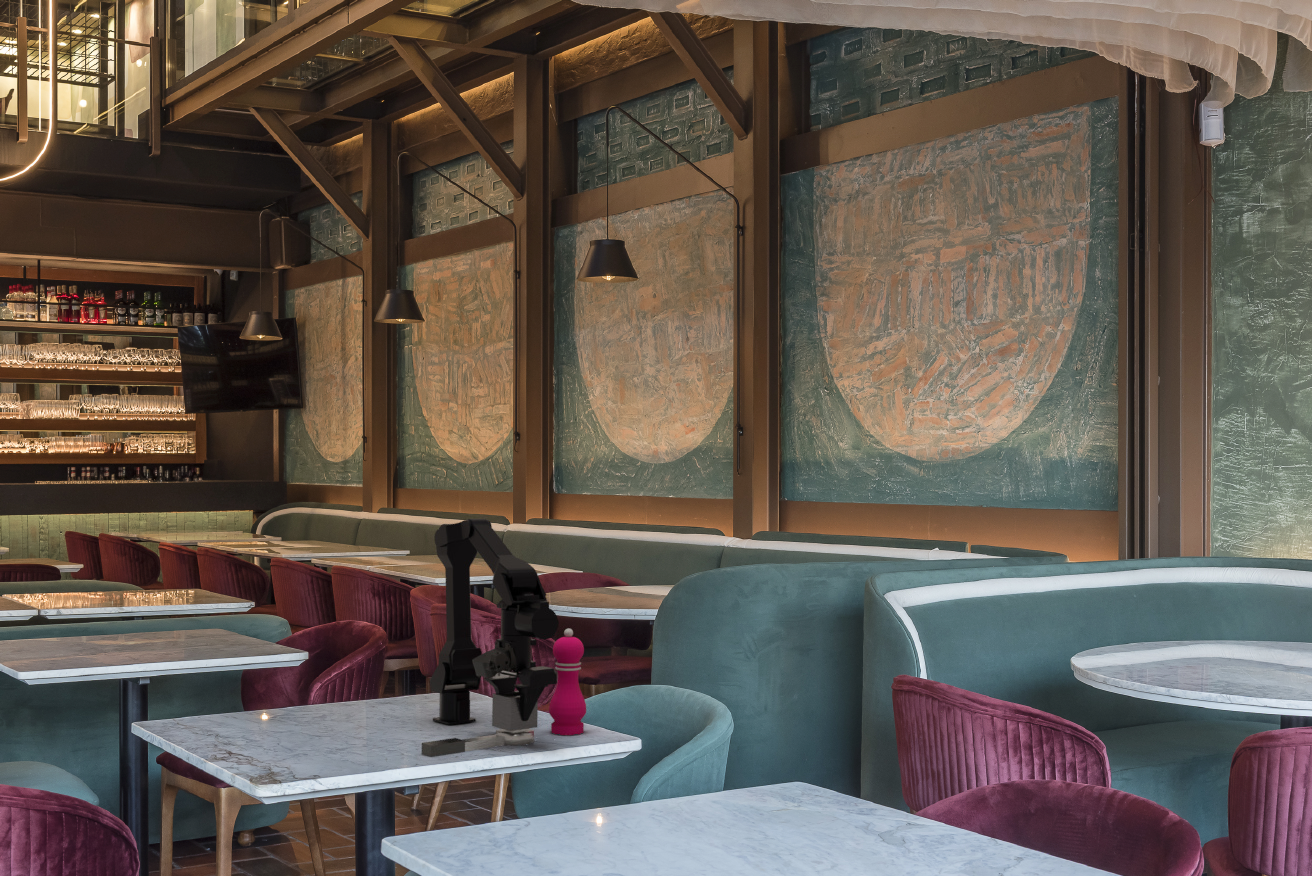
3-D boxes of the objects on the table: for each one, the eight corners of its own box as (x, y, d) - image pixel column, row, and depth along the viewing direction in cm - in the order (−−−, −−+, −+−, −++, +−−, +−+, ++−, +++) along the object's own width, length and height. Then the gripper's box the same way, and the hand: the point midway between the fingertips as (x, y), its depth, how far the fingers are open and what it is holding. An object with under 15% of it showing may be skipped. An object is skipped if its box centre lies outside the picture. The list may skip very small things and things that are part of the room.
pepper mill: (588, 729, 249) (589, 626, 250) (583, 736, 242) (584, 630, 243) (552, 728, 250) (553, 626, 251) (545, 735, 243) (546, 630, 243)
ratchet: (415, 752, 227) (416, 723, 227) (519, 736, 241) (520, 709, 242) (436, 759, 221) (437, 728, 222) (541, 742, 236) (541, 714, 236)
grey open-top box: (492, 726, 237) (492, 693, 237) (518, 722, 241) (519, 690, 241) (510, 731, 232) (511, 698, 233) (537, 727, 236) (537, 694, 237)
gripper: (452, 632, 239) (450, 716, 238) (509, 642, 225) (508, 731, 224) (501, 628, 246) (500, 709, 246) (559, 637, 232) (558, 723, 232)
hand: (515, 718), depth 237 cm, fingers closed on grey open-top box, 6 cm apart
